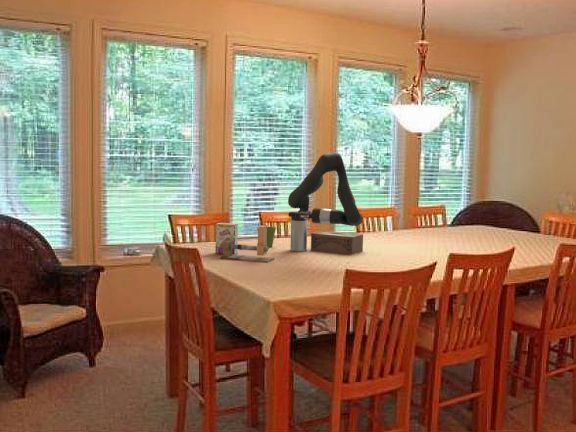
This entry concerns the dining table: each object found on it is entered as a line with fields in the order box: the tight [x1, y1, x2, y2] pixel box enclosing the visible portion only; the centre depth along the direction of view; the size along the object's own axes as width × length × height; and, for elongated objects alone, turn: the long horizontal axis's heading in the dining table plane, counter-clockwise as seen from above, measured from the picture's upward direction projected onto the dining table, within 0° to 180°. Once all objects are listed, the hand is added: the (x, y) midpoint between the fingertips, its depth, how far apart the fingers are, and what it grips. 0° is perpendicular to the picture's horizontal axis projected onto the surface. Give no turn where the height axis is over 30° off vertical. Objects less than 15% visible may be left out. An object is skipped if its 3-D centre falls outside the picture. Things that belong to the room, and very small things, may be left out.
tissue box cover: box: [310, 230, 364, 255], centre depth 356 cm, size 26×14×10 cm, turn 60°
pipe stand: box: [219, 241, 275, 264], centre depth 322 cm, size 10×26×8 cm, turn 72°
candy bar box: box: [215, 222, 239, 255], centre depth 336 cm, size 11×5×16 cm, turn 74°
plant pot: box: [256, 226, 277, 249], centre depth 363 cm, size 12×12×11 cm
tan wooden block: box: [256, 225, 268, 257], centre depth 319 cm, size 6×3×15 cm, turn 162°
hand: (289, 214), depth 317 cm, fingers closed
